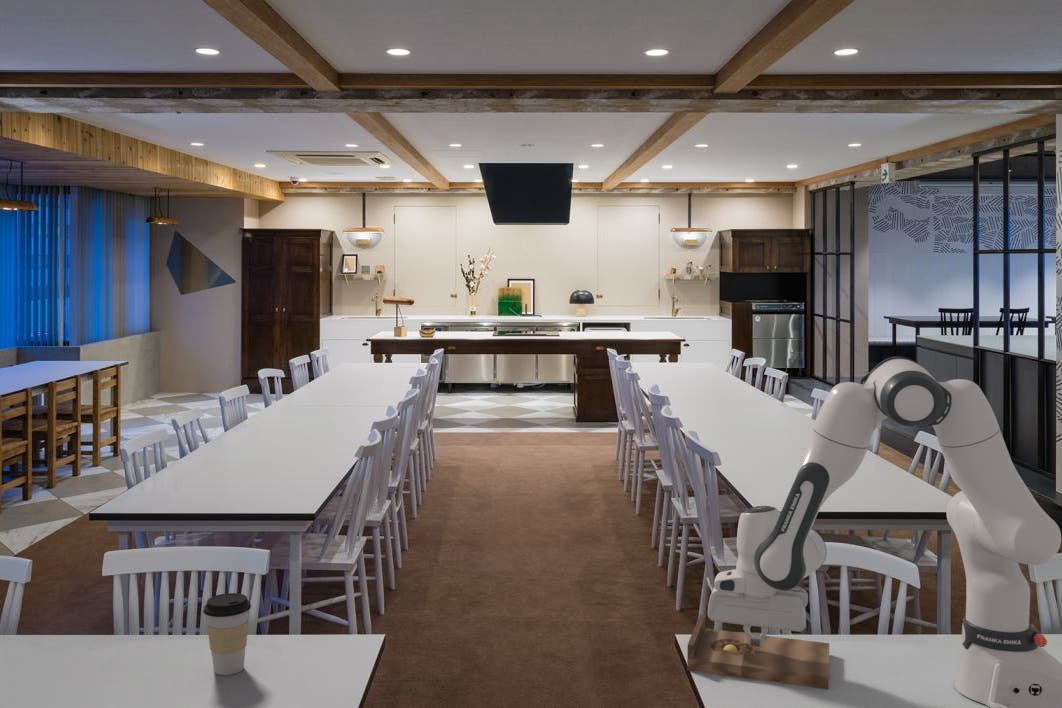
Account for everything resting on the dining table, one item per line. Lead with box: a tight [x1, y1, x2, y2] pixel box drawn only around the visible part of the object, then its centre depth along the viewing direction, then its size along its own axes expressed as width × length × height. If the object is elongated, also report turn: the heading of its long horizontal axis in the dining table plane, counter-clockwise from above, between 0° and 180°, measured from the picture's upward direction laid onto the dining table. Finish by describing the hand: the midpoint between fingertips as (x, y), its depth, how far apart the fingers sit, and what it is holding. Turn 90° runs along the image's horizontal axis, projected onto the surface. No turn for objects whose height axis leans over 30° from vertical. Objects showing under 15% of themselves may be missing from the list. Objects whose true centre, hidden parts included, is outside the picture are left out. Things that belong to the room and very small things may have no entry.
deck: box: [686, 614, 830, 690], centre depth 193 cm, size 28×18×6 cm, turn 71°
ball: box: [724, 644, 738, 651], centre depth 195 cm, size 3×3×3 cm
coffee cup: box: [202, 592, 252, 676], centre depth 189 cm, size 9×9×15 cm
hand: (755, 645), depth 193 cm, fingers closed
